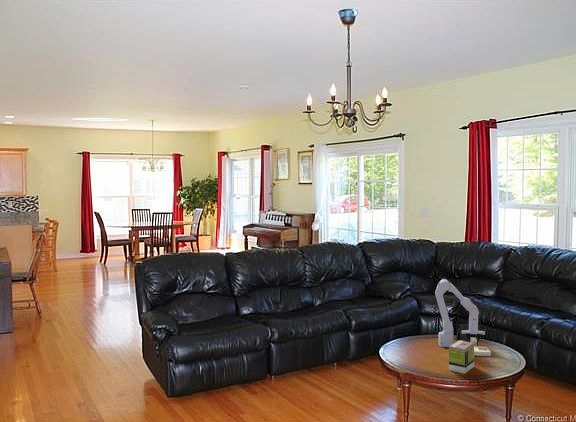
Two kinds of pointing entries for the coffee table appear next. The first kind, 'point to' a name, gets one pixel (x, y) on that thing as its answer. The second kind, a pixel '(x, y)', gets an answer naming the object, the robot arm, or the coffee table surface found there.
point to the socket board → (481, 351)
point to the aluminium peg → (473, 341)
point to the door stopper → (459, 333)
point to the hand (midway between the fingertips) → (472, 344)
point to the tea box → (461, 356)
